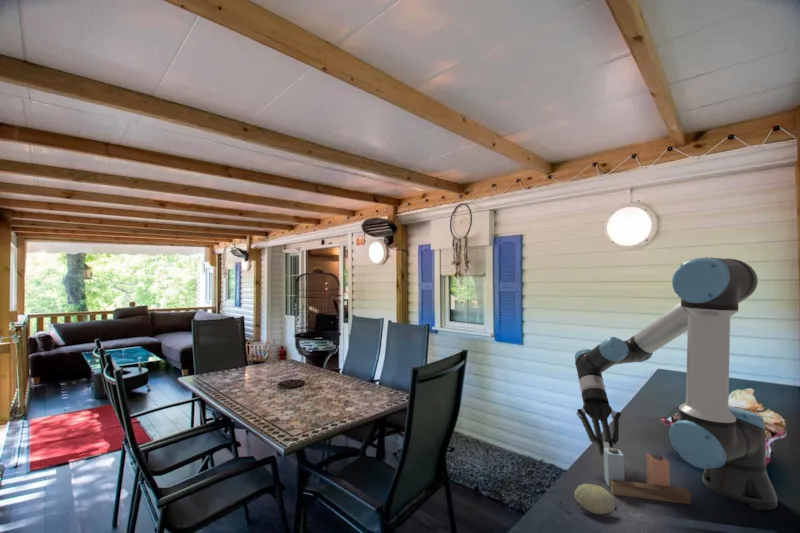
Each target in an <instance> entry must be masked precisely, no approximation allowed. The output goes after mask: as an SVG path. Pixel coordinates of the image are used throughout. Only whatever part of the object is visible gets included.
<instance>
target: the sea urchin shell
mask: <svg viewBox="0 0 800 533" xmlns="http://www.w3.org/2000/svg"><path fill="white" fill-rule="evenodd" d="M574 500H575V501H576V502H577V503H578V504H577V505H578V506H579V507H581V508H582V509H584V510H586V511H587V512H590V513H592V514H595V515H604V514H605V515H607V514H611V513H612V512H614V511H615V509H616V501H615V499H614V496H613V494H611V493H610V492H609V491H608V490H607V489H606V488H604V487H603V486H600V485H596V484H593V483H583V484H580V485H578V486H577V487H576V489H575V491H574Z"/></svg>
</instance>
